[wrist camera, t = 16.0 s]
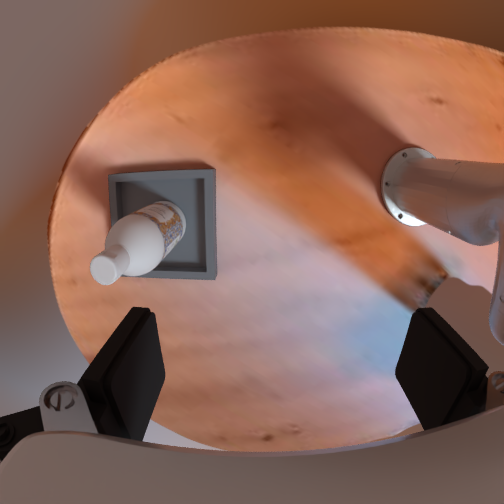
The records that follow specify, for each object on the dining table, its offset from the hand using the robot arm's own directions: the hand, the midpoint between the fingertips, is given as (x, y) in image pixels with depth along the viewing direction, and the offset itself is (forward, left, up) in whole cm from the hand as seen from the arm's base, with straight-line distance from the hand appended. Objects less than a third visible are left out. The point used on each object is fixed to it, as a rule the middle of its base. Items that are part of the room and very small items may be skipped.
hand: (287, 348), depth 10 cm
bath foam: (+15, +3, -34) cm, 37 cm away
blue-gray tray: (+15, +3, -34) cm, 38 cm away
